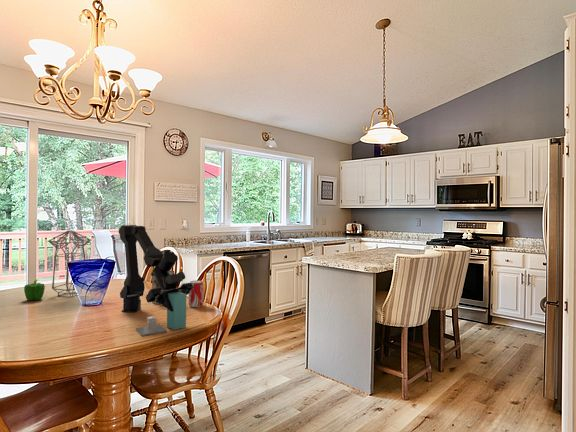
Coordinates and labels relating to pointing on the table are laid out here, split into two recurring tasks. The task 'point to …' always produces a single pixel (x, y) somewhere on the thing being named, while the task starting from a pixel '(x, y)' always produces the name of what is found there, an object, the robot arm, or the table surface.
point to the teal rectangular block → (177, 311)
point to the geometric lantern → (67, 256)
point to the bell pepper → (34, 291)
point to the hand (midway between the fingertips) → (178, 309)
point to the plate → (145, 332)
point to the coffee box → (154, 282)
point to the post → (151, 323)
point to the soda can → (196, 294)
